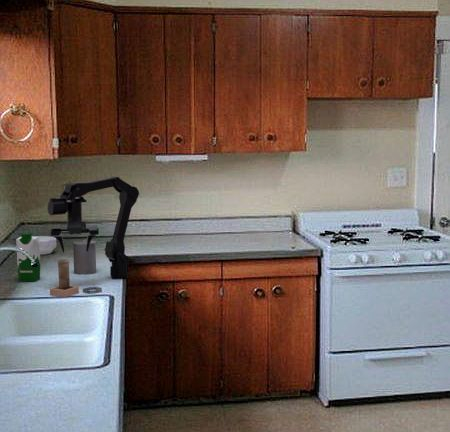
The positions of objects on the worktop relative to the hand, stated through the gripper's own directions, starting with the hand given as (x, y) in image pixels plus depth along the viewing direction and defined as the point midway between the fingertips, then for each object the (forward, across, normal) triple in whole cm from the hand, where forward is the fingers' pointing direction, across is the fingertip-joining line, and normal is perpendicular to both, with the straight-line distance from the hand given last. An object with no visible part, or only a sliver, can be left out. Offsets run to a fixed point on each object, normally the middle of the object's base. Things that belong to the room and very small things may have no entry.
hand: (75, 252), depth 264 cm
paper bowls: (+13, -17, +76) cm, 79 cm away
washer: (+13, +6, -15) cm, 21 cm away
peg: (+13, -4, -17) cm, 22 cm away
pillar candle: (+13, +4, +22) cm, 26 cm away
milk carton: (+14, -19, +12) cm, 26 cm away
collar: (+13, -4, -17) cm, 22 cm away
